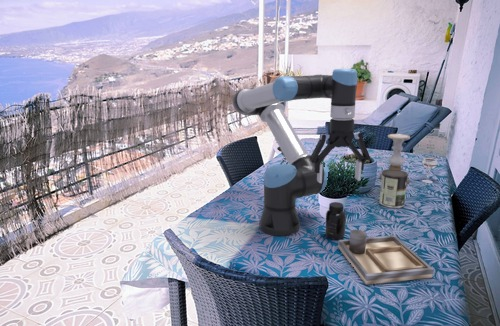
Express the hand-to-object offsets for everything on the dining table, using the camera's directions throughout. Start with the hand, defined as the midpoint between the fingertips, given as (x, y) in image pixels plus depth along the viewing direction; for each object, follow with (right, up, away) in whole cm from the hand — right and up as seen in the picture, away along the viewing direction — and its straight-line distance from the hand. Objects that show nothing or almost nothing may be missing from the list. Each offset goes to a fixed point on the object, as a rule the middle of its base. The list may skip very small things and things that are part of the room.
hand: (338, 180), depth 114 cm
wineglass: (+61, -4, +58) cm, 85 cm away
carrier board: (+11, -24, -10) cm, 28 cm away
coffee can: (+32, -12, +32) cm, 47 cm away
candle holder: (+45, -3, +60) cm, 75 cm away
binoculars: (-7, +1, +79) cm, 79 cm away
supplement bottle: (0, -20, +6) cm, 21 cm away
